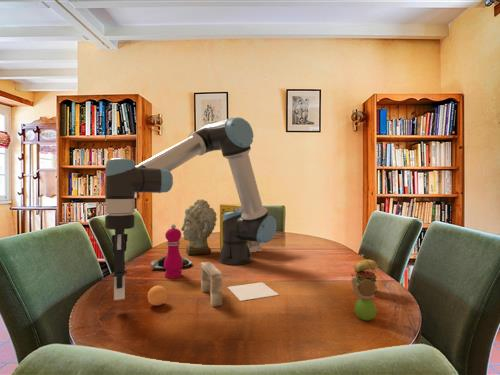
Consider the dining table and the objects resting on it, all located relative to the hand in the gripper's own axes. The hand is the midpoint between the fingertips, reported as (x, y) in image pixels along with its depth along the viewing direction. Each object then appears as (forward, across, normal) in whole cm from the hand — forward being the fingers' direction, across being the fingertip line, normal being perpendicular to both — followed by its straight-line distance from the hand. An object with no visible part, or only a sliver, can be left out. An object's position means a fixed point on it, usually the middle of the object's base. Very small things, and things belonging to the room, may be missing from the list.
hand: (119, 298), depth 82 cm
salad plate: (+4, -43, +19) cm, 47 cm away
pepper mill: (+3, -27, +18) cm, 33 cm away
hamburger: (+3, +14, +75) cm, 77 cm away
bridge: (+3, 0, +26) cm, 26 cm away
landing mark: (+3, 0, +40) cm, 40 cm away
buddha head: (+3, -64, +36) cm, 74 cm away
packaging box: (+3, -60, +58) cm, 84 cm away
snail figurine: (+3, +30, +59) cm, 66 cm away
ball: (+1, 0, +10) cm, 10 cm away
